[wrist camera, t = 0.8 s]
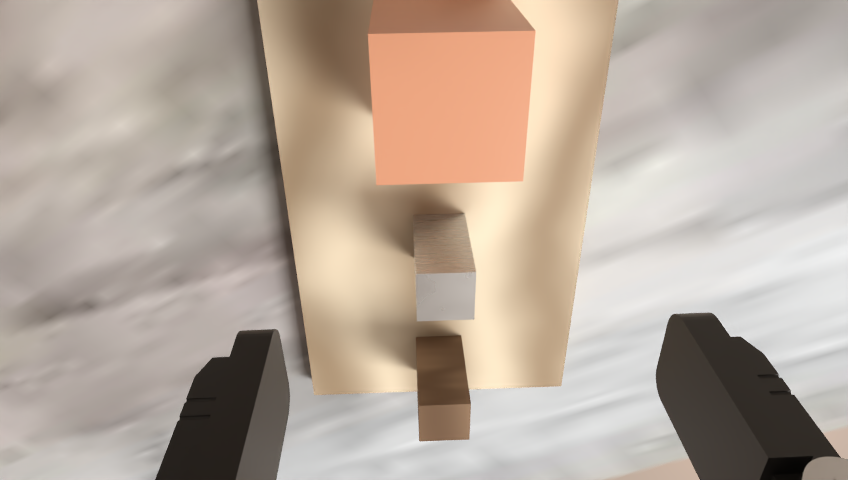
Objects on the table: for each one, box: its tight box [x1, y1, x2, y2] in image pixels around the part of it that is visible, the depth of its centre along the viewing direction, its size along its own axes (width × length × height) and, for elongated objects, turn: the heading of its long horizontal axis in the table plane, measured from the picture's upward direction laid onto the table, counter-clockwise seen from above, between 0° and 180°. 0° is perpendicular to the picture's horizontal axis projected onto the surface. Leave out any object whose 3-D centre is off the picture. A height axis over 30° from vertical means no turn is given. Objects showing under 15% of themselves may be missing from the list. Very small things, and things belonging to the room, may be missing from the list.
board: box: [257, 0, 618, 395], centre depth 32 cm, size 15×24×1 cm, turn 1°
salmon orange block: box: [368, 0, 536, 185], centre depth 24 cm, size 5×5×7 cm
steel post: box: [413, 213, 476, 321], centre depth 29 cm, size 3×3×5 cm
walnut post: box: [416, 335, 471, 441], centre depth 34 cm, size 3×3×5 cm
